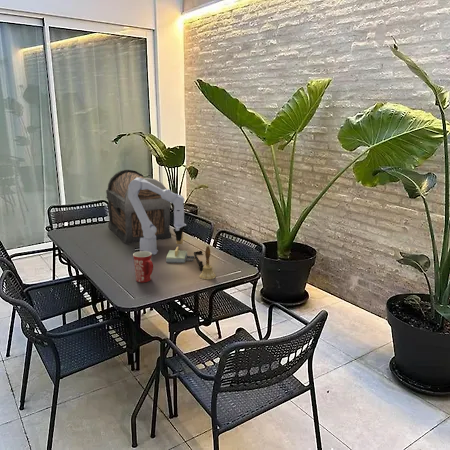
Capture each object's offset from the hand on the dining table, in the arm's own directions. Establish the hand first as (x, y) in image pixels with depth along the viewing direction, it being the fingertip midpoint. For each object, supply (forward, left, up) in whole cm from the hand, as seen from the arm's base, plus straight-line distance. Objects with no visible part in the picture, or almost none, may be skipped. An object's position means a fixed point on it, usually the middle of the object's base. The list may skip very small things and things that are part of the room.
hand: (179, 239), depth 241 cm
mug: (-11, -42, -9) cm, 44 cm away
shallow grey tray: (0, -10, -8) cm, 13 cm away
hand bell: (+19, -34, -9) cm, 40 cm away
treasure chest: (-33, +41, -9) cm, 53 cm away
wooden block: (0, 0, -2) cm, 2 cm away
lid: (0, -10, -6) cm, 12 cm away
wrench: (+14, -14, -9) cm, 22 cm away
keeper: (+7, -10, -8) cm, 15 cm away
